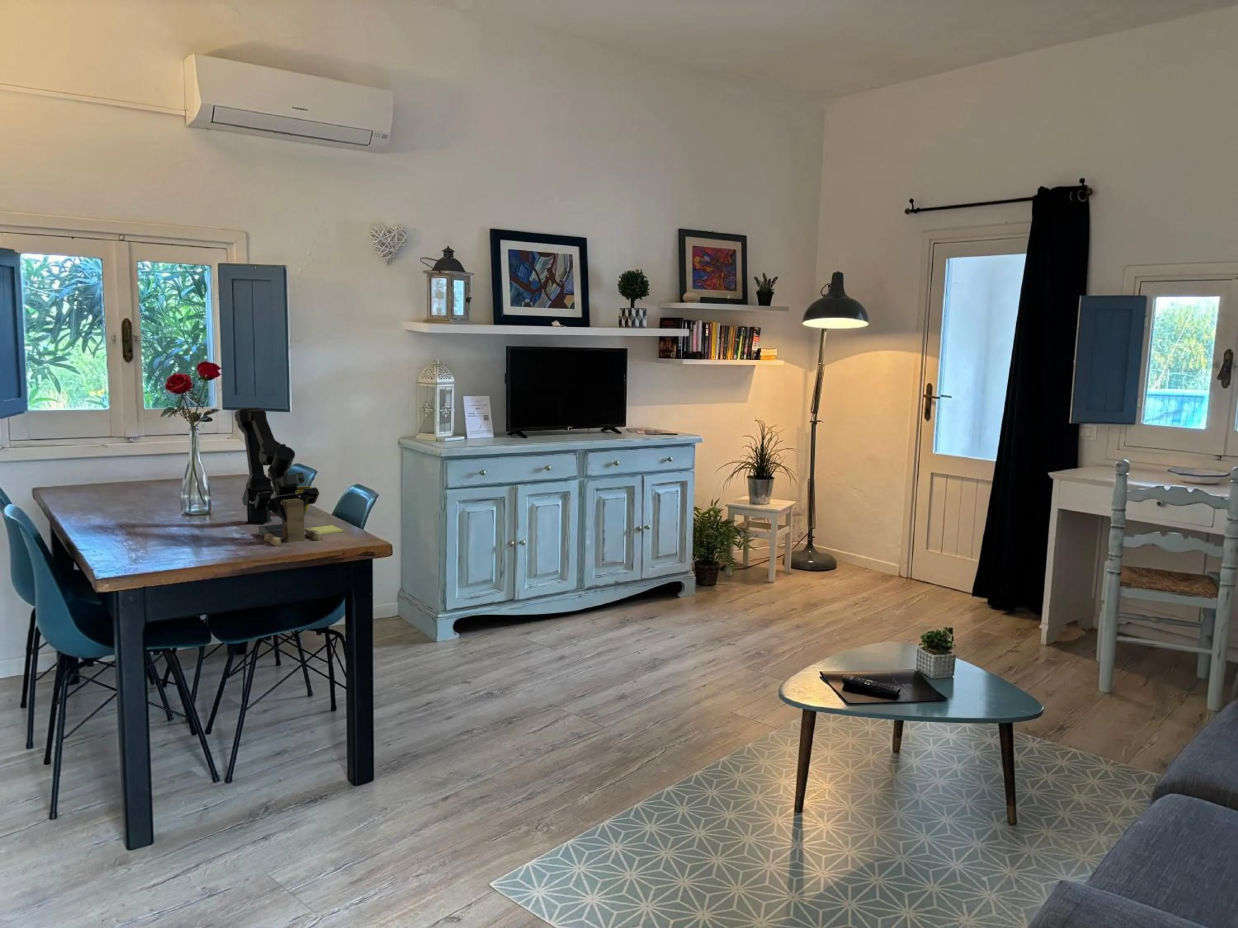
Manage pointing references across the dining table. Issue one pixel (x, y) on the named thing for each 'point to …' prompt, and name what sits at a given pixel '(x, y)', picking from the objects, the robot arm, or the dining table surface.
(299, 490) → the flower pot
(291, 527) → the walnut block
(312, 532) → the brown lane walls
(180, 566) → the dining table surface
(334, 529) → the pad
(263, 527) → the charcoal tray
